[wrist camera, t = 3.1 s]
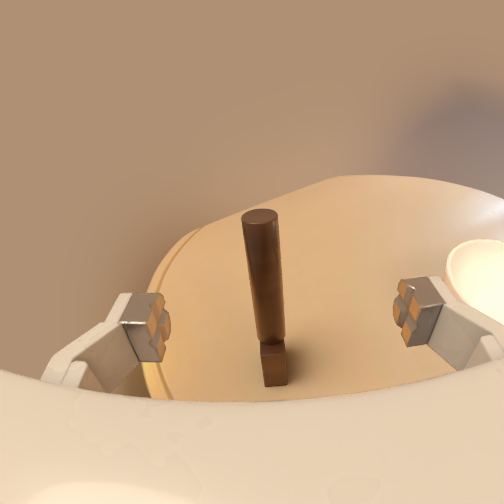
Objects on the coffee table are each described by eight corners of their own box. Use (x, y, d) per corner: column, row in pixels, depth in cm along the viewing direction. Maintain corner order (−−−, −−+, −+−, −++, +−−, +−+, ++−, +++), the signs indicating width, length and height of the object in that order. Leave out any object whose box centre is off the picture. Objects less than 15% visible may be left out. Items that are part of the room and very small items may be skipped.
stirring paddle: (289, 384, 28) (281, 229, 19) (262, 387, 28) (240, 233, 20) (284, 348, 32) (274, 200, 24) (261, 350, 33) (241, 204, 24)
